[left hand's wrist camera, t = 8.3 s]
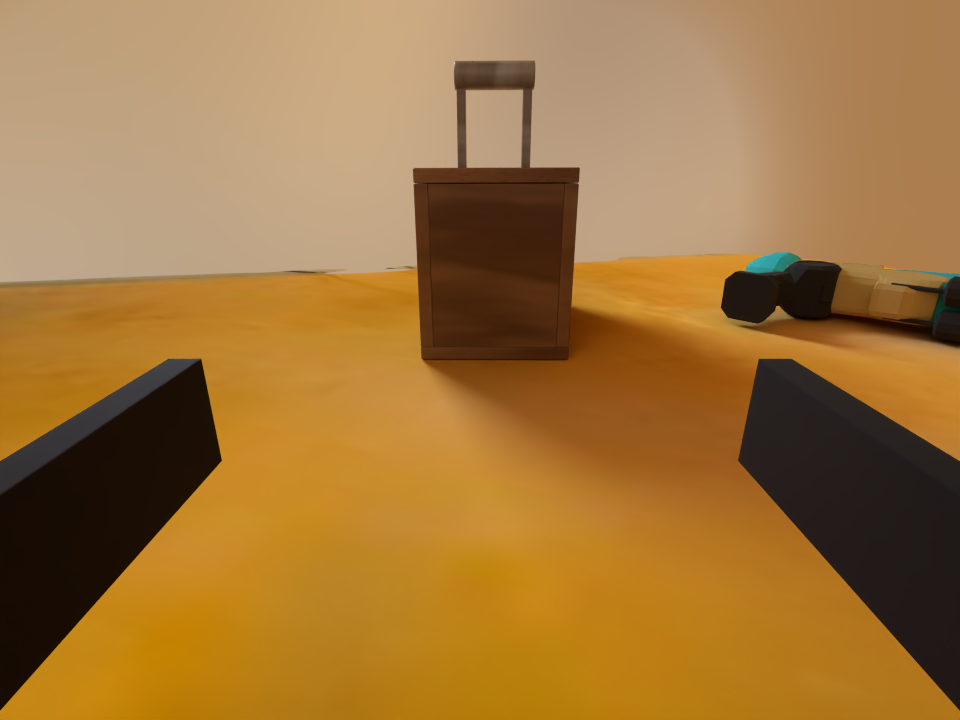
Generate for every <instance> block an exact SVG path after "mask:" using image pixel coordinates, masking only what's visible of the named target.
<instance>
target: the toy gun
mask: <svg viewBox="0 0 960 720" xmlns="http://www.w3.org/2000/svg"><path fill="white" fill-rule="evenodd" d="M776 306H780V307H781V308H782V309H783V310H784V311H785V312H786V313H787V314H789V315H793V316H797V317H804V318H823V317H826V316H828V315H830V314H832V313H839V314H846V315H854V316H862V317H869V318H874V319H880V320H886V321H892V322H898V323H905V324H912V325H921V326H932V327H933V331H932V334H933V336H934V337H935V338H937V339H943V340H948V341H954V342H960V274H954V273H952V274H949V273H936V272H923V271H908V270H892V269H884V266H883V265H870V264H854V263H839V262H824V261H810V260H809V261H808V260H802V259H800V258H799V257H798V256H796V255H794V254H791V253H786V252H781V253H773V254H770V255H766V256H762V257H760V258H758V259H756V260H754V261H752V262H750V263H749V264H748V265H747V268H746V272H745V271H737V272H735V273H733V274H732V275H731V276H729V277H728V278H727V279H725V285H724V292H723V298H722V304H721V309H722V310H723V311H724V313H725V314H726V316H727V317H728V318H732V319H737V320H742V321H747V322H752V323H757V324H758V323H760V322H763V321H764V320H765V319H766V318H768V317H769V316H770V315H771V314H772V313H773V312H774V311H775V308H776Z"/></svg>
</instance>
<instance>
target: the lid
mask: <svg viewBox="0 0 960 720" xmlns="http://www.w3.org/2000/svg"><path fill="white" fill-rule="evenodd" d="M454 84H455V90H457V137H458V168H414V169H413V180H414V183H578V182H579V171H580V168H530V144H531V109H532V90H533V89H534V84H535V61H455V62H454ZM466 90H523V112H522V155H521V168H467V167H466Z"/></svg>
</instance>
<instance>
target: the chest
mask: <svg viewBox="0 0 960 720" xmlns="http://www.w3.org/2000/svg"><path fill="white" fill-rule="evenodd" d="M578 187H579V185H578V184H577V183H417V184H414V201H415V224H416V246H417V268H418V290H419V312H420V334H421V356H422V359H568V351H569V348H568V347H569V334H570V318H571V301H572V285H573V269H574V252H575V236H576V220H577V203H578Z"/></svg>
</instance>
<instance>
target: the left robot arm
mask: <svg viewBox="0 0 960 720" xmlns="http://www.w3.org/2000/svg"><path fill="white" fill-rule="evenodd" d="M221 461H222V459H221V454H220V449H219V444H218V439H217V434H216V429H215V425H214V420H213V415H212V410H211V405H210V400H209V395H208V390H207V385H206V380H205V375H204V370H203V365H202V360H201V359H168V360H166V361H164V362H163V363H161V364H159V365H158V366H156V367H155V368H153V369H151V370H150V371H148V372H146V373H145V374H143V375H141V376H140V377H138V378H136V379H135V380H133V381H132V382H130V383H128V384H127V385H125V386H123V387H122V388H120V389H118V390H117V391H115V392H113V393H112V394H110V395H108V396H107V397H105V398H104V399H102V400H100V401H99V402H97V403H95V404H94V405H92V406H90V407H89V408H87V409H85V410H84V411H82V412H81V413H79V414H77V415H76V416H74V417H72V418H71V419H69V420H67V421H66V422H64V423H62V424H61V425H59V426H58V427H56V428H54V429H53V430H51V431H49V432H48V433H46V434H44V435H43V436H41V437H39V438H38V439H36V440H34V441H33V442H31V443H30V444H28V445H26V446H25V447H23V448H21V449H20V450H18V451H16V452H15V453H13V454H11V455H10V456H8V457H7V458H5V459H3V460H2V461H0V710H1V709H2V708H3V707H4V706H5V705H6V703H7V702H8V701H9V700H10V699H11V698H12V697H13V695H14V694H15V693H16V692H17V691H18V690H19V689H20V688H21V686H22V685H23V684H24V683H25V682H26V681H27V680H28V679H29V677H30V676H31V675H32V674H33V673H34V672H35V671H36V670H37V668H38V667H39V666H40V665H41V664H42V663H43V662H44V661H45V659H46V658H47V657H48V656H49V655H50V654H51V653H52V652H53V650H54V649H55V648H56V647H57V646H58V645H59V644H60V643H61V641H62V640H63V639H64V638H65V637H66V636H67V635H68V633H69V632H70V631H71V630H72V629H73V628H74V627H75V626H76V624H77V623H78V622H79V621H80V620H81V619H82V618H83V617H84V615H85V614H86V613H87V612H88V611H89V610H90V609H91V608H92V606H93V605H94V604H95V603H96V602H97V601H98V600H99V599H100V597H101V596H102V595H103V594H104V593H105V592H106V591H107V590H108V588H109V587H110V586H111V585H112V584H113V583H114V582H115V581H116V579H117V578H118V577H119V576H120V575H121V574H122V573H123V571H124V570H125V569H126V568H127V567H128V566H129V565H130V564H131V562H132V561H133V560H134V559H135V558H136V557H137V556H138V555H139V553H140V552H141V551H142V550H143V549H144V548H145V547H146V546H147V544H148V543H149V542H150V541H151V540H152V539H153V538H154V537H155V535H156V534H157V533H158V532H159V531H160V530H161V529H162V528H163V526H164V525H165V524H166V523H167V522H168V521H169V520H170V518H171V517H172V516H173V515H174V514H175V513H176V512H177V511H178V509H179V508H180V507H181V506H182V505H183V504H184V503H185V502H186V500H187V499H188V498H189V497H190V496H191V495H192V494H193V493H194V491H195V490H196V489H197V488H198V487H199V486H200V485H201V484H202V482H203V481H204V480H205V479H206V478H207V477H208V476H209V475H210V473H211V472H212V471H213V470H214V469H215V468H216V467H217V466H218V464H219V463H220V462H221ZM738 461H739V462H740V463H741V464H742V466H743V467H744V468H745V469H746V470H747V471H748V472H749V473H750V475H751V476H752V477H753V478H754V479H755V480H756V481H757V482H758V484H759V485H760V486H761V487H762V488H763V489H764V490H765V491H766V493H767V494H768V495H769V496H770V497H771V498H772V499H773V500H774V502H775V503H776V504H777V505H778V506H779V507H780V508H781V509H782V511H783V512H784V513H785V514H786V515H787V516H788V517H789V518H790V520H791V521H792V522H793V523H794V524H795V525H796V526H797V528H798V529H799V530H800V531H801V532H802V533H803V534H804V535H805V537H806V538H807V539H808V540H809V541H810V542H811V543H812V544H813V546H814V547H815V548H816V549H817V550H818V551H819V552H820V553H821V555H822V556H823V557H824V558H825V559H826V560H827V561H828V562H829V564H830V565H831V566H832V567H833V568H834V569H835V570H836V571H837V573H838V574H839V575H840V576H841V577H842V578H843V579H844V581H845V582H846V583H847V584H848V585H849V586H850V587H851V588H852V590H853V591H854V592H855V593H856V594H857V595H858V596H859V597H860V599H861V600H862V601H863V602H864V603H865V604H866V605H867V606H868V608H869V609H870V610H871V611H872V612H873V613H874V614H875V615H876V617H877V618H878V619H879V620H880V621H881V622H882V623H883V624H884V626H885V627H886V628H887V629H888V630H889V631H890V632H891V633H892V635H893V636H894V637H895V638H896V639H897V640H898V641H899V643H900V644H901V645H902V646H903V647H904V648H905V649H906V650H907V652H908V653H909V654H910V655H911V656H912V657H913V658H914V659H915V661H916V662H917V663H918V664H919V665H920V666H921V667H922V668H923V670H924V671H925V672H926V673H927V674H928V675H929V676H930V677H931V679H932V680H933V681H934V682H935V683H936V684H937V685H938V686H939V688H940V689H941V690H942V691H943V692H944V693H945V694H946V695H947V697H948V698H949V699H950V700H951V701H952V702H953V703H954V705H955V706H956V707H957V708H958V709H959V710H960V461H958V460H957V459H955V458H953V457H952V456H950V455H949V454H947V453H945V452H944V451H942V450H940V449H939V448H937V447H935V446H934V445H932V444H930V443H929V442H927V441H926V440H924V439H922V438H921V437H919V436H917V435H916V434H914V433H912V432H911V431H909V430H907V429H906V428H904V427H902V426H901V425H899V424H898V423H896V422H894V421H893V420H891V419H889V418H888V417H886V416H884V415H883V414H881V413H879V412H878V411H876V410H875V409H873V408H871V407H870V406H868V405H866V404H865V403H863V402H861V401H860V400H858V399H856V398H855V397H853V396H852V395H850V394H848V393H847V392H845V391H843V390H842V389H840V388H838V387H837V386H835V385H833V384H832V383H830V382H828V381H827V380H825V379H824V378H822V377H820V376H819V375H817V374H815V373H814V372H812V371H810V370H809V369H807V368H805V367H804V366H802V365H801V364H799V363H797V362H796V361H794V360H792V359H759V360H758V365H757V370H756V375H755V380H754V385H753V390H752V395H751V400H750V405H749V410H748V415H747V420H746V425H745V429H744V434H743V439H742V444H741V449H740V454H739V459H738Z"/></svg>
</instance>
